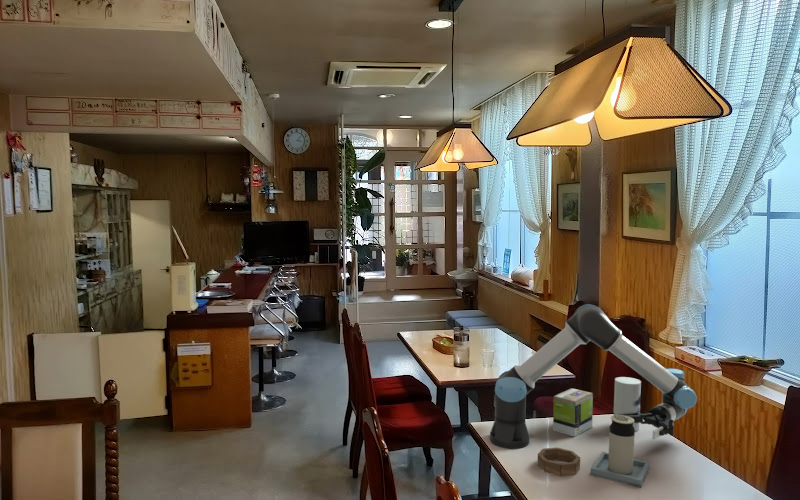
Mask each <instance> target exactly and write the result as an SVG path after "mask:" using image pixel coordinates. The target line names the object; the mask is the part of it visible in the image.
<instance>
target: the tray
mask: <svg viewBox="0 0 800 500" xmlns="http://www.w3.org/2000/svg"><path fill="white" fill-rule="evenodd" d="M608 461H609V452H606V451H601V453H600V455H599V456H598V457H597V459H596V460H595V462H594V463H593V464H592V465H591V467H590V476H593V477H597V478H601V479H605V480H609V481H614V482H617V483H621V484H624V485H630V486H633V487H636V488H640V489H641V488H642V486H643V484H644V482H645V479H646V477H647V475H648V473H649V472H650V467H651V465H650V464H651V463H650V462H649V461H645V460H641V459H636V458H634V460H633V472H632V473H630V474H619V473H615V472H613V471H611V470H610V469H609V468H608Z"/></svg>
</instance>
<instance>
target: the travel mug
mask: <svg viewBox="0 0 800 500" xmlns="http://www.w3.org/2000/svg"><path fill="white" fill-rule="evenodd" d="M610 419H611V424H610V425H609V438H608V439H609V441H608V453H609V461H608V468H609V469H610V470H611V471H613V472H615V473H619V474H630V473H632V472H633V460H634V459H635V458H634V457H635V453H634V452H635V436H636V435H635V432H636V431H635V429H634V427H633V423H634V419H633V418H631V417H629V416H625V415H614V414H613V415H612V416H611V417H610Z"/></svg>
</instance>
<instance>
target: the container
mask: <svg viewBox="0 0 800 500" xmlns="http://www.w3.org/2000/svg"><path fill="white" fill-rule="evenodd" d="M641 387H642V381H641V380H640V379H637V378H634V377H628V376H627V377H626V376H619V377H615V378H614V389H613V390H614V392H613V393H614V395H613V397H614V398H613V415H618V414H622V413H631V412H636V411H640V412H641V389H642V388H641ZM633 427H634V429H635V432H637V431H639V430H640V423H633Z"/></svg>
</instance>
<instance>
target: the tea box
mask: <svg viewBox="0 0 800 500" xmlns="http://www.w3.org/2000/svg"><path fill="white" fill-rule="evenodd" d="M593 394H594V393H593V392H590V391H585V390H581V389H576V388H572V387H571V388H569V389H567V390H565V391H562V392H560V393H557V394H556V395H554V396H553V410H552V411H553V416H552V418H553V420H552V424H553V425H552V426H553V427H552V429H553V431H554V432H558V433H561V434H564V435H568V436H571V437H577V436H578V435H580V434H582V433H583V432H586V431H587V430H589V429H591V428H593V416H594V414H593V409H594V407H593V406H594V405H593V404H594V403H593V402H594V401H593V398H594V395H593Z"/></svg>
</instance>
